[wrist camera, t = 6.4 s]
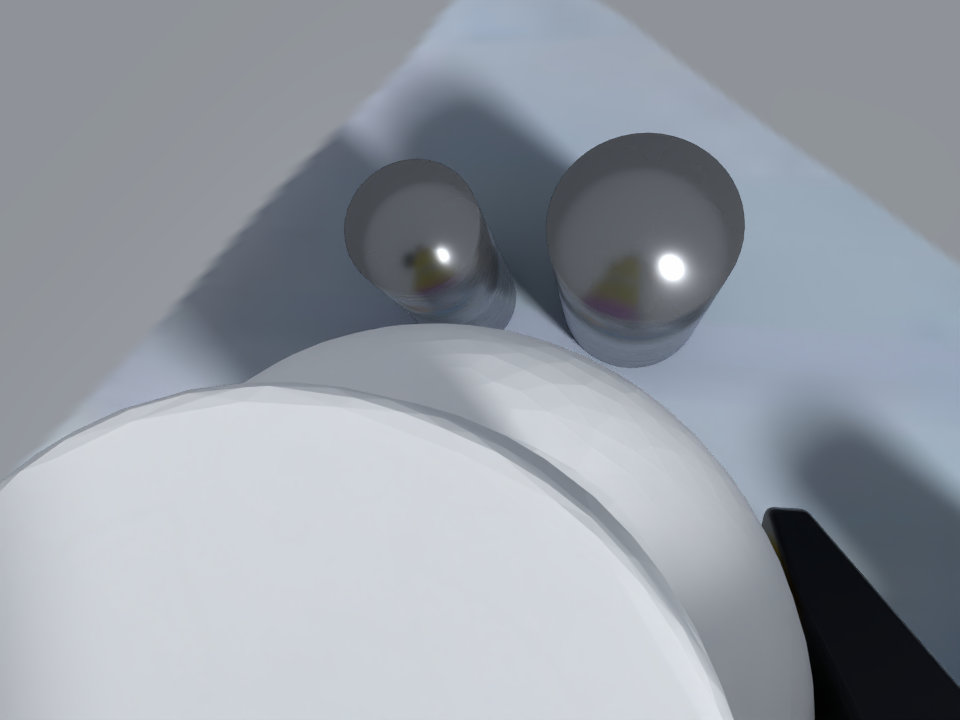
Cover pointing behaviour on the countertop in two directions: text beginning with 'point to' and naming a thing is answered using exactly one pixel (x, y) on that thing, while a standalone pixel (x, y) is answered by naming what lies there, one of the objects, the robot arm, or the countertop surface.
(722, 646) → the supplement bottle
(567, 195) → the spacers
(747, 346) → the countertop surface
